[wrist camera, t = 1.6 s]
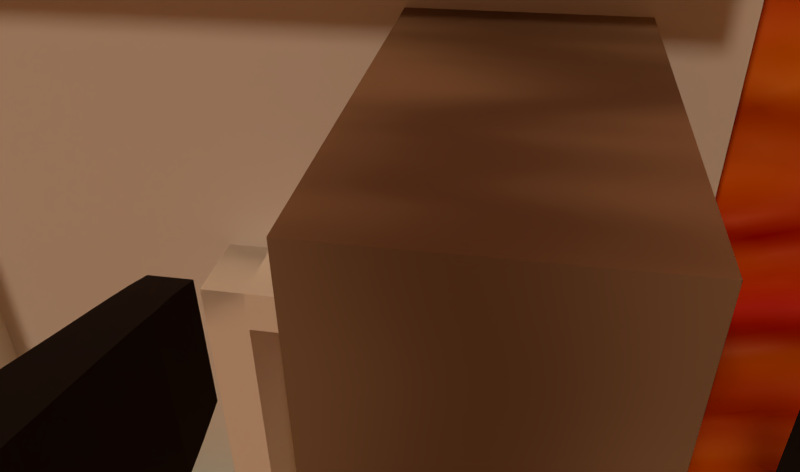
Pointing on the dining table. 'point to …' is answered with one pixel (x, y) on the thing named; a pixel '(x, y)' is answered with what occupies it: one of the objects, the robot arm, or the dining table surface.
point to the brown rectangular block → (504, 256)
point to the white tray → (228, 158)
